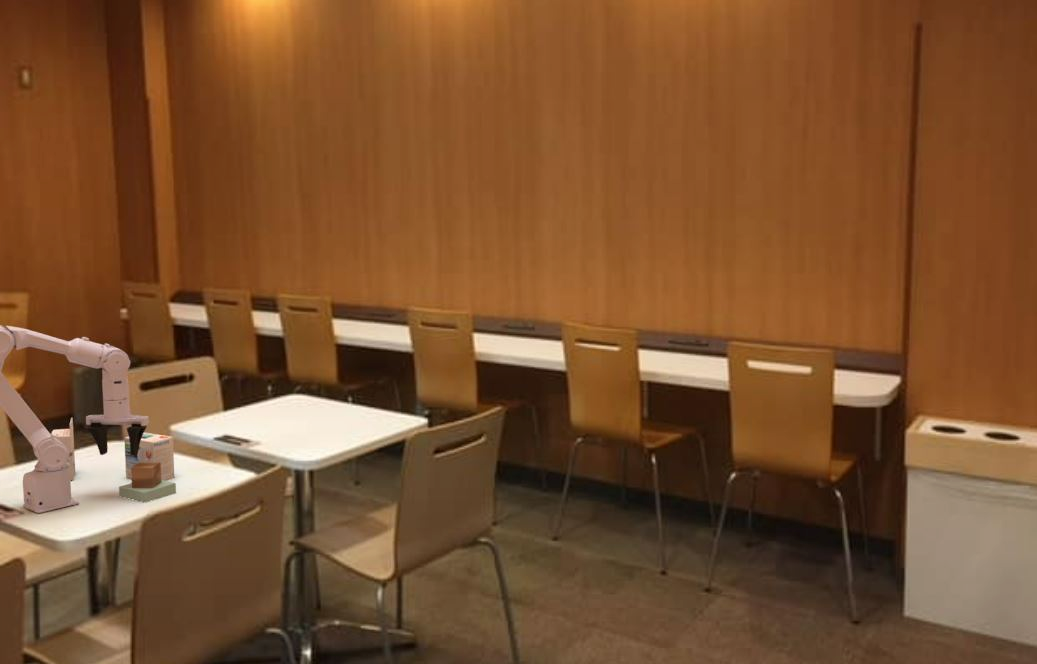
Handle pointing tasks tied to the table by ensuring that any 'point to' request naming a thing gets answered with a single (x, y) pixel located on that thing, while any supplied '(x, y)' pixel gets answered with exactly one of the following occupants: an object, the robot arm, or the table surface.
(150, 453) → the light bulb box
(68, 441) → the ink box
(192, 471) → the table surface
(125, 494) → the sage green box
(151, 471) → the walnut cube
